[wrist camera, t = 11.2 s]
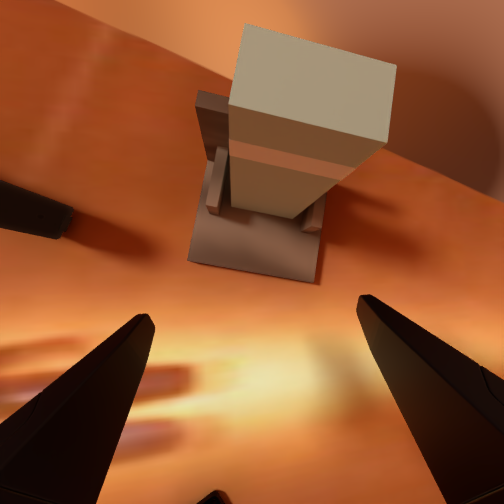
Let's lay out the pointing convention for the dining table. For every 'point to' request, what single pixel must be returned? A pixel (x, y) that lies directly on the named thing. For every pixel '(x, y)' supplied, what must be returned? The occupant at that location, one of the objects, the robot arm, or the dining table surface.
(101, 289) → the dining table surface
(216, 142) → the book rack
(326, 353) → the dining table surface
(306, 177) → the book
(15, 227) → the magazine
